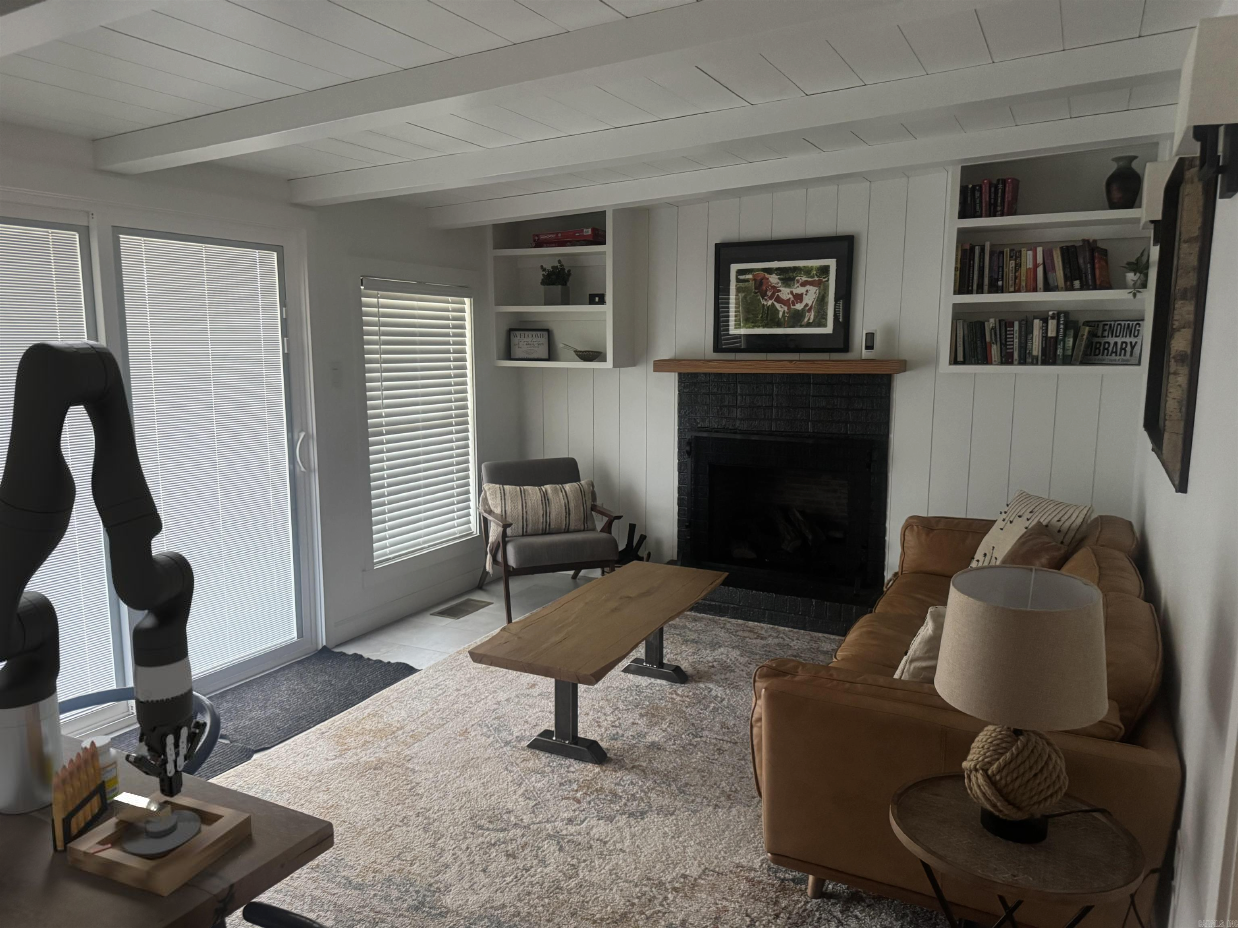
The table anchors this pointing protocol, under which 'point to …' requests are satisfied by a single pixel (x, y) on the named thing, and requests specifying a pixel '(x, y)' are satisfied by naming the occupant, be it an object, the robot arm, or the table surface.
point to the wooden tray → (165, 873)
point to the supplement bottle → (107, 764)
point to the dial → (154, 826)
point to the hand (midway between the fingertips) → (171, 794)
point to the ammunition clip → (77, 798)
